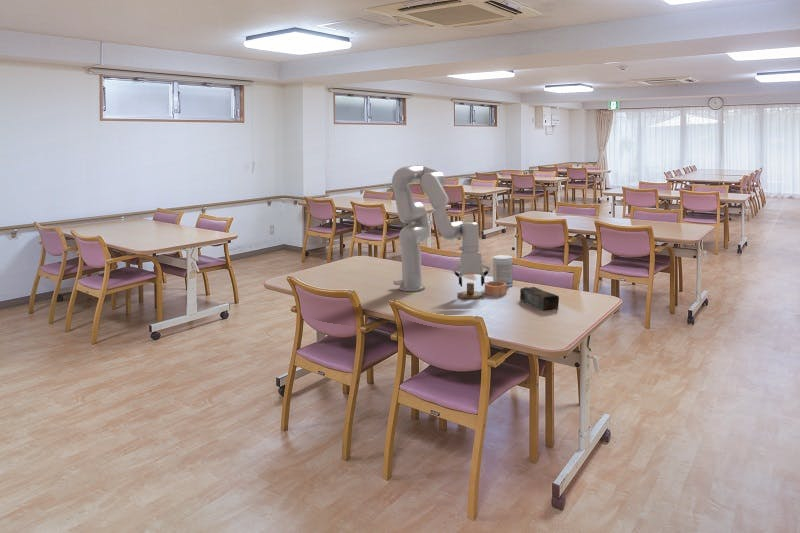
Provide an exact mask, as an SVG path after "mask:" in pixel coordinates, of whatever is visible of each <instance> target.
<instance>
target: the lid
mask: <svg viewBox="0 0 800 533" xmlns="http://www.w3.org/2000/svg"><path fill="white" fill-rule="evenodd" d="M458 293H459V297H460V298H463V299H478V298H481V297H482V293H483V292H482V291H481V292H480V291H478V290H477V291H476V290H475V283H474V282H467V283H466V290H464V291H460V292H458Z"/></svg>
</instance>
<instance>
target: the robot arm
mask: <svg viewBox="0 0 800 533" xmlns="http://www.w3.org/2000/svg"><path fill="white" fill-rule="evenodd" d="M446 183H447V179H446V176H445V174H444V173H443V172H441V171H439V170H435V169H432V168H430V167H427V166H423V165H419V164H418V165H408V166H402V167H400V168H398V169H397V170H396V171H395V172H394V173H393V175H392V179H391V185H392V190H393V194H394V198H395V199H394V200H395V205H396V210H397V215H398V219H399V220H400V222H402V223H403V224H408V223H409V224H410V223H411V224H410V225H407V226H404V227H403V228H402V229H400V231H399V234H398V238H399V244H400V251H401V276H402V277H401V279H399V280H393V285H395V286H399V290H400V289H401V290H400V291H402V290H404V291H403V292H419V291H423V290H425V288H426V287H425V285H424V284H423V283H422V255H421V254H422V253H421V252H422V251H421V248H420V246H419V244H420V243H423V242H426V241H427V240H428V239H429V236H430V226H429V225H430V224H429V220H428V214H427V209H426V207H425V206H424V204H423V203H422V202H420V201H414V197H413V192H412V190H411V188H410V187H409V185H414V184H420V187H421V189H422V190H423V192H424V195H425V196H426V198H427V200H428V202H429V203H430V204H431V206H432V207H431V208H432V216H433V221H434V224H435V226H436V228H437V230H438V232H439V234H441V236H442V237H443V238H444V239H446V240H449V241H450V240H453V239H457V238H461V243H462V244H461V246H460V247H459V249H458V251H461V253H460V257H459V258H460V259H459V264H458V265H455V267H452V272H453V274H454V275H455V276H456V277H457V278H458V285H460V287H463V278H462V276H464V275H480V286H481V287H483V286H484V285H485V277H486V276H487V275H488V274H489V272H490V269H491V266H488V265H486V264H484V263H483V258H482V252H481V251H480V247H479V246H480V239H479V238H480V236H479V233H480V232H479V223H477V222H475V221H468V222H467V221H461V220H455V221H452V222H451V221H450V218H449V217H448V214H447V209H446V208H447V206H448V203H449V201H450V199H449V196H448V195H447V193H446V191H445V189H444V187H445V185H446ZM483 269H485V271H484V272H483ZM457 270H460V271H459V273H458V271H457Z"/></svg>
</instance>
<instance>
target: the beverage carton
mask: <svg viewBox="0 0 800 533" xmlns="http://www.w3.org/2000/svg"><path fill="white" fill-rule="evenodd" d="M519 290H520V295H519V301H520V300H521V301H520V302H522V301H523V303H525V304H527V303H528V304H527V305H529V304H530V306H531V305H532V307H534V308H537V309H539V310H541V311H543V312H546V311H545V310H547V311H552V310H553V309H555V310H559V302H560V296H559V295H557V294H554V293H551V292H548V291H546V290H543V289H540V288H539V287H536V286H532V287H531V286H530V287H527V286H525V287H522V288H520V289H519Z"/></svg>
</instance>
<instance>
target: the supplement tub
mask: <svg viewBox="0 0 800 533" xmlns="http://www.w3.org/2000/svg"><path fill="white" fill-rule="evenodd" d="M513 264H514V262H513V256H512V255H509V254H508V255H507V254H506V255H505V254H502V255H501V254H500V255H499V254H498V255H495V256H493V258H492V280H493V281H500V282H505V283H506V284H507V287H512V286H513V277H514V276H513V274H514V272H513V270H514V269H513Z"/></svg>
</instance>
